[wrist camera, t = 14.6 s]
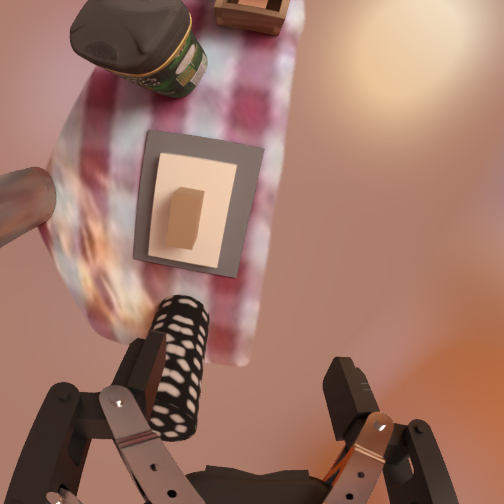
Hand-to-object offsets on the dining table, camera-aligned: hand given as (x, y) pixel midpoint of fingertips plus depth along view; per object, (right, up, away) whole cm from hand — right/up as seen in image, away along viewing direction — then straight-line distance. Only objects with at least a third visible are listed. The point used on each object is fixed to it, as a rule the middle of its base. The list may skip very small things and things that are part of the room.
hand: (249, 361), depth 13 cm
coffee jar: (-10, +28, +18) cm, 35 cm away
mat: (-8, +11, +24) cm, 28 cm away
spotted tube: (-11, -5, +31) cm, 33 cm away
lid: (-8, +11, +24) cm, 27 cm away
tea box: (+1, +39, +14) cm, 41 cm away
